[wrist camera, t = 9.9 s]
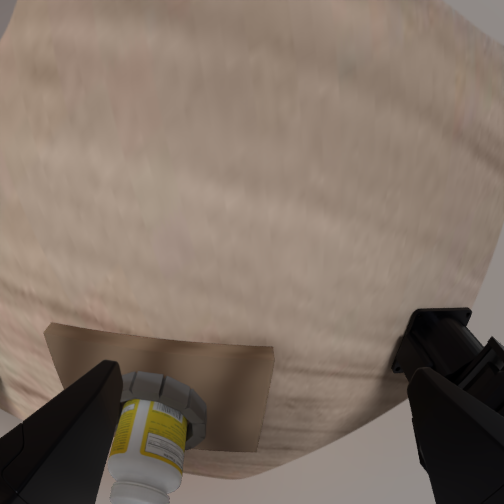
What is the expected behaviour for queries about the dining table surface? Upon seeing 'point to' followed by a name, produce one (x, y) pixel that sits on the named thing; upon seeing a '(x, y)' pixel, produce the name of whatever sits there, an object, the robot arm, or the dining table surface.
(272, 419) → the dining table surface
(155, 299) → the dining table surface
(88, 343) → the socket board
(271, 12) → the dining table surface
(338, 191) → the dining table surface
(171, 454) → the supplement bottle
